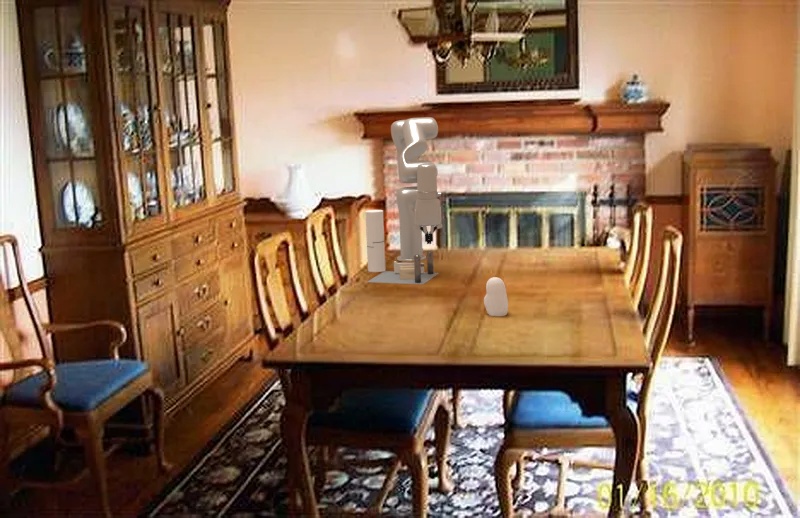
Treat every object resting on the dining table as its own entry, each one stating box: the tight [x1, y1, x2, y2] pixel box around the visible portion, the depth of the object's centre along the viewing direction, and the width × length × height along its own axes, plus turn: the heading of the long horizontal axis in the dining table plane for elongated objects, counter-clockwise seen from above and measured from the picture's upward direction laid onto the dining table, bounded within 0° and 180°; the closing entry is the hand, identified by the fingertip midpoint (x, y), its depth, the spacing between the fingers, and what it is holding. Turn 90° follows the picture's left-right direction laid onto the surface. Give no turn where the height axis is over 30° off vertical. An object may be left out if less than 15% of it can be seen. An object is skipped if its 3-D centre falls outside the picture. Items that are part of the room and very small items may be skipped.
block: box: [400, 266, 415, 279], centre depth 358 cm, size 6×6×4 cm
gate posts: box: [413, 250, 435, 283], centre depth 355 cm, size 19×3×11 cm, turn 161°
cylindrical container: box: [364, 209, 386, 273], centre depth 372 cm, size 7×7×25 cm
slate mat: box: [366, 270, 440, 285], centre depth 359 cm, size 21×23×1 cm
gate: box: [393, 260, 425, 273], centre depth 365 cm, size 12×2×5 cm, turn 81°
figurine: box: [483, 276, 509, 317], centre depth 299 cm, size 7×8×12 cm
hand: (429, 243), depth 354 cm, fingers closed
